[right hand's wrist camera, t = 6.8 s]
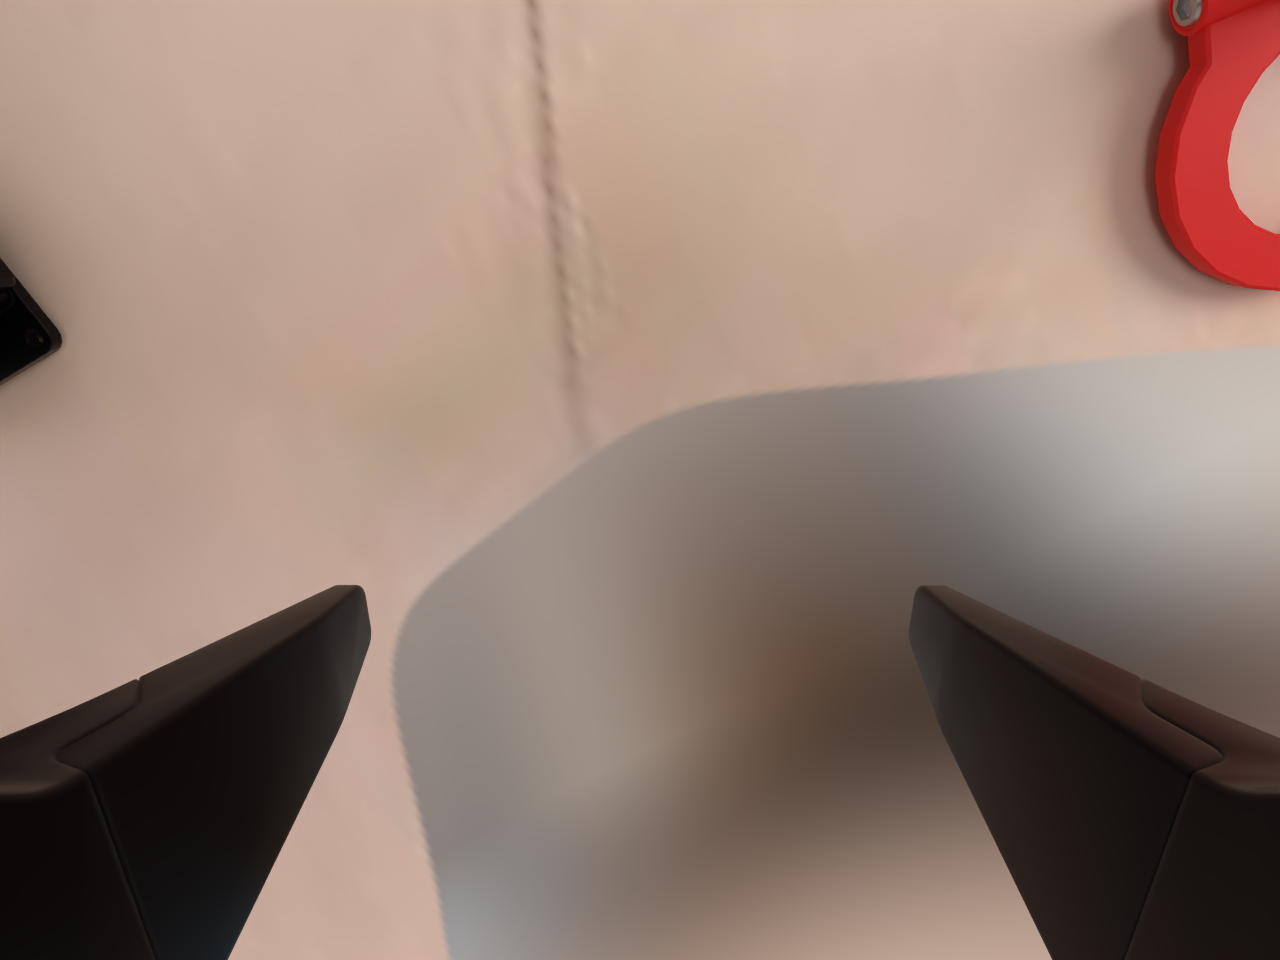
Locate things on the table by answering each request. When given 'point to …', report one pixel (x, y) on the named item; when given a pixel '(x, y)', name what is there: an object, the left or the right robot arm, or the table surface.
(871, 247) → the table surface
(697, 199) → the table surface
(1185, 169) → the tow hook
